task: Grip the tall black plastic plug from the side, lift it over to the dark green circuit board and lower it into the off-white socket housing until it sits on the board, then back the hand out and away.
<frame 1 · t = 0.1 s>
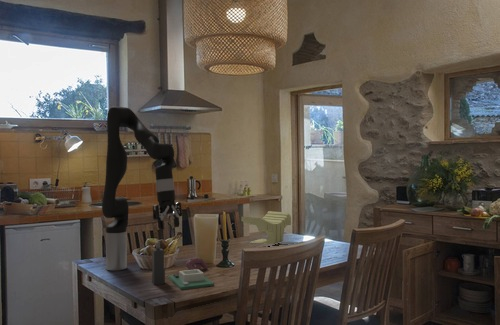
hand: (169, 228, 201), 22 cm above the table, tool pointing down, fingers open, 8 cm apart
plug: (158, 283, 198), on the table
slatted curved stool: (267, 245, 282), on the table
video game controller: (196, 271, 219), on the table
circuit board: (190, 281, 200), on the table
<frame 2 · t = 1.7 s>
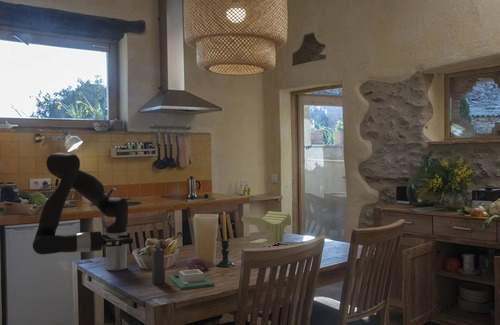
hand: (130, 239, 193), 19 cm above the table, tool horizontal, fingers open, 8 cm apart
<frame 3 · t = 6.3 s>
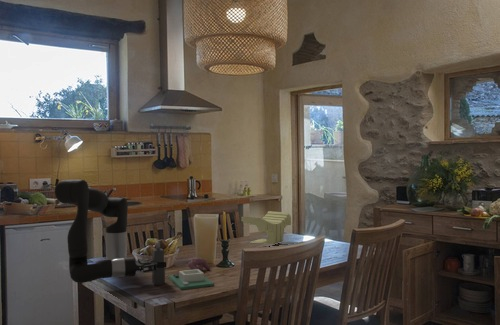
hand: (164, 263, 199), 8 cm above the table, tool horizontal, fingers closed on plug, 4 cm apart
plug: (158, 283, 198), on the table, touching gripper
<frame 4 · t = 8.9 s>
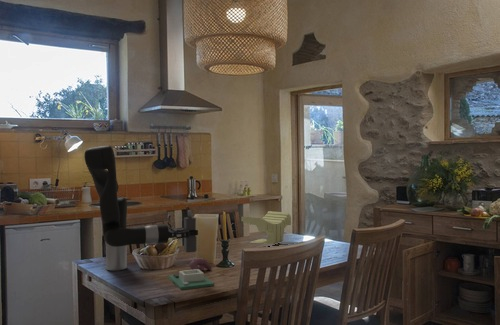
hand: (196, 231, 201), 21 cm above the table, tool horizontal, fingers closed on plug, 4 cm apart
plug: (189, 251, 200), point 13 cm above the table, touching gripper
when the fingers open (10 cm above the table, at t = 11.7 s): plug stays where it is, resting on circuit board.
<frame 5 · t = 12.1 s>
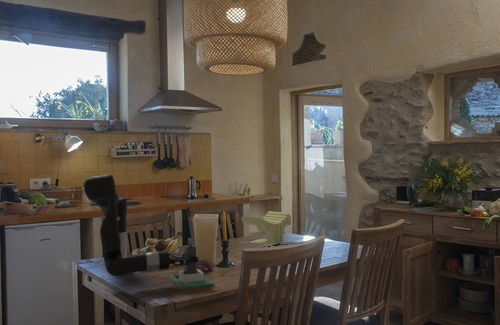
hand: (195, 257, 201), 10 cm above the table, tool horizontal, fingers open, 7 cm apart
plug: (190, 279, 200), point 1 cm above the table, touching circuit board
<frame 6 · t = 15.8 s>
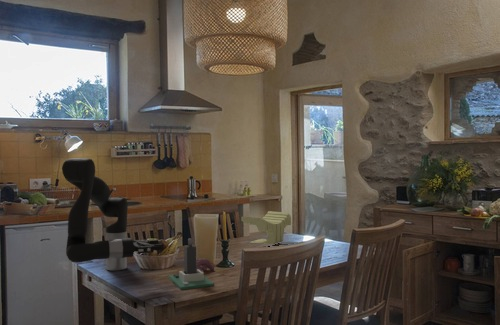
hand: (160, 244, 195), 17 cm above the table, tool horizontal, fingers open, 8 cm apart
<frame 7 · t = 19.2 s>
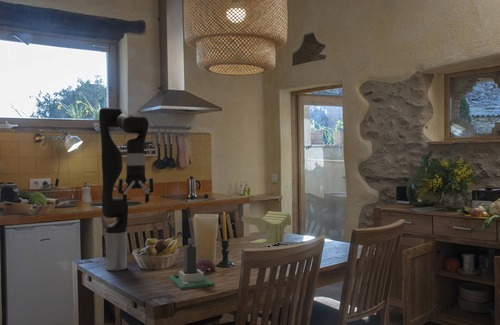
hand: (135, 203, 199), 33 cm above the table, tool pointing down, fingers open, 8 cm apart
at the end: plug 0.5 cm off-centre on the circuit board, point 1.0 cm above the circuit board's base; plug tilted 0°; the gripper is holding nothing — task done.
